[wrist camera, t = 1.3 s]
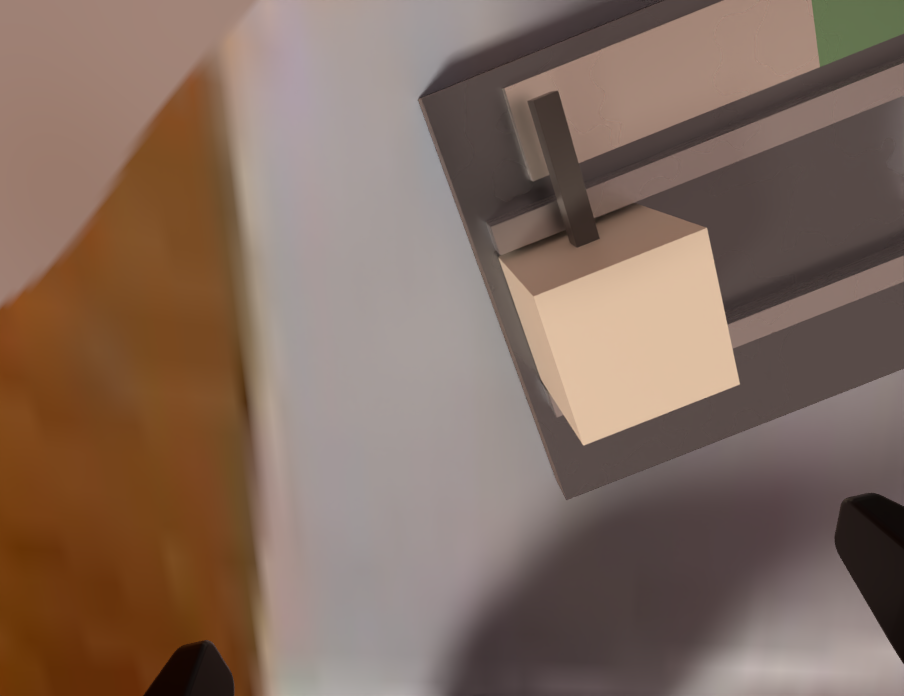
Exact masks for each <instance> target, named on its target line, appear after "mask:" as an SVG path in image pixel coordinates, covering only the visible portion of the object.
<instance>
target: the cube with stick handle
mask: <svg viewBox="0 0 904 696" xmlns="http://www.w3.org/2000/svg"><path fill="white" fill-rule="evenodd" d="M527 102H528V105H529V109H530V112H531V115H532V119H533V122H534V125H535V129H536V132H537V135H538V139H539V142H540V145H541V149H542V152H543V155H544V159H545V162H546V165H547V169H548V172H549V175H550V179H551V182H552V185H553V189H554V192H555V195H556V199H557V202H558V205H559V209H560V212H561V215H562V219H563V222H564V225H565V229H566V230H564V231H562V232H559V233H557V234H554V235H552V236H549V237H547V238H544V239H541V240H539V241H536V242H534V243H531V244H529V245H526V246H524V247H521V248H519V249H516V250H514V251H511V252H509V253H506V254H504V255H501V256H499V257H498V258H499V261H500V264H501V267H502V269H503V272H504V275H505V278H506V281H507V284H508V287H509V290H510V292H511V295H512V298H513V301H514V304H515V307H516V310H517V312H518V315H519V318H520V321H521V324H522V327H523V330H524V333H525V335H526V338H527V341H528V344H529V347H530V350H531V353H532V355H533V358H534V361H535V364H536V367H537V370H538V373H539V376H540V378H541V380H542V382H543V384H544V385H545V387H546V388H547V390H548V391H549V393H550V394H551V396H552V398H553V399H554V401H555V402H556V404H557V405H558V407H559V408H560V410H561V412H562V413H563V415H564V416H565V418H566V419H567V421H568V423H569V424H570V426H571V427H572V429H573V430H574V432H575V433H576V435H577V437H578V438H579V440H580V441H581V443H582V444H583V446H584V445H586V444H589V443H592V442H594V441H597V440H599V439H602V438H604V437H607V436H609V435H612V434H615V433H617V432H620V431H622V430H625V429H627V428H630V427H632V426H635V425H638V424H640V423H643V422H645V421H648V420H650V419H653V418H655V417H658V416H661V415H663V414H666V413H668V412H671V411H673V410H676V409H678V408H681V407H684V406H686V405H689V404H691V403H694V402H696V401H699V400H701V399H704V398H707V397H709V396H712V395H714V394H717V393H719V392H722V391H724V390H727V389H730V388H732V387H735V386H737V385H740V382H739V377H738V373H737V368H736V363H735V358H734V354H733V349H732V344H731V339H730V335H729V330H728V325H727V320H726V316H725V311H724V306H723V301H722V297H721V292H720V287H719V282H718V278H717V273H716V268H715V263H714V259H713V254H712V249H711V244H710V240H709V235H708V230H707V228H706V227H703V226H700V225H697V224H694V223H691V222H688V221H686V220H683V219H680V218H677V217H674V216H671V215H668V214H665V213H662V212H659V211H657V210H654V209H651V208H648V207H645V206H642V205H639V204H636V203H632V204H630V205H627V206H625V207H622V208H620V209H617V210H615V211H612V212H609V213H607V214H604V215H602V216H599V217H597V218H594V216H593V213H592V209H591V206H590V202H589V199H588V195H587V191H586V188H585V184H584V181H583V177H582V174H581V170H580V166H579V163H578V159H577V156H576V152H575V149H574V145H573V141H572V138H571V134H570V131H569V127H568V124H567V120H566V117H565V113H564V109H563V106H562V102H561V99H560V95H559V92H558V91H551V92H548V93H546V94H543V95H541V96H538V97H536V98H533V99H531V100H528V101H527Z"/></svg>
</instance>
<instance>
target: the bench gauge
mask: <svg viewBox="0 0 904 696" xmlns="http://www.w3.org/2000/svg"><path fill="white" fill-rule="evenodd" d="M551 91H558V92H559V95H560V99H561V102H562V106H563V109H564V113H565V117H566V120H567V124H568V127H569V131H570V134H571V138H572V141H573V145H574V149H575V152H576V156H577V159H578V163H579V166H580V170H581V174H582V177H583V181H584V184H585V188H586V191H587V195H588V199H589V202H590V206H591V209H592V213H593V216H594V218H597V217H599V216H602V215H604V214H607V213H609V212H612V211H615V210H617V209H620V208H622V207H625V206H627V205H630V204H632V203H636V204H639V205H642V206H645V207H648V208H651V209H654V210H657V211H659V212H662V213H665V214H668V215H671V216H674V217H677V218H680V219H683V220H686V221H688V222H691V223H694V224H697V225H700V226H703V227H706V228H707V230H708V235H709V240H710V244H711V249H712V254H713V259H714V263H715V268H716V273H717V278H718V282H719V287H720V292H721V297H722V301H723V306H724V311H725V316H726V320H727V325H728V330H729V335H730V339H731V344H732V349H733V354H734V358H735V363H736V368H737V373H738V377H739V382H740V385H737V386H735V387H732V388H730V389H727V390H724V391H722V392H719V393H717V394H714V395H712V396H709V397H707V398H704V399H701V400H699V401H696V402H694V403H691V404H689V405H686V406H684V407H681V408H678V409H676V410H673V411H671V412H668V413H666V414H663V415H661V416H658V417H655V418H653V419H650V420H648V421H645V422H643V423H640V424H638V425H635V426H632V427H630V428H627V429H625V430H622V431H620V432H617V433H615V434H612V435H609V436H607V437H604V438H602V439H599V440H597V441H594V442H592V443H589V444H586V445H584V446H583V444H582V443H581V441H580V440H579V438H578V437H577V435H576V433H575V432H574V430H573V429H572V427H571V426H570V424H569V423H568V421H567V419H566V418H565V416H564V415H563V413H562V412H561V410H560V408H559V407H558V405H557V404H556V402H555V401H554V399H553V398H552V396H551V394H550V393H549V391H548V390H547V388H546V387H545V385H544V384H543V382H542V380H541V378H540V376H539V373H538V370H537V367H536V364H535V361H534V358H533V355H532V353H531V350H530V347H529V344H528V341H527V338H526V335H525V333H524V330H523V327H522V324H521V321H520V318H519V315H518V312H517V310H516V307H515V304H514V301H513V298H512V295H511V292H510V290H509V287H508V284H507V281H506V278H505V275H504V272H503V269H502V267H501V264H500V261H499V258H498V257H499V256H501V255H504V254H506V253H509V252H511V251H514V250H516V249H519V248H521V247H524V246H526V245H529V244H531V243H534V242H536V241H539V240H541V239H544V238H547V237H549V236H552V235H554V234H557V233H559V232H562V231H564V230H566V229H565V225H564V222H563V219H562V215H561V212H560V209H559V205H558V202H557V199H556V195H555V192H554V189H553V185H552V182H551V179H550V175H549V172H548V169H547V165H546V162H545V159H544V155H543V152H542V149H541V145H540V142H539V139H538V135H537V132H536V129H535V125H534V122H533V119H532V115H531V112H530V109H529V105H528V102H527V101H528V100H531V99H533V98H536V97H538V96H541V95H543V94H546V93H548V92H551ZM418 101H419V104H420V107H421V110H422V112H423V115H424V118H425V121H426V123H427V126H428V129H429V132H430V134H431V137H432V140H433V143H434V145H435V148H436V151H437V154H438V156H439V159H440V162H441V165H442V167H443V170H444V173H445V176H446V178H447V181H448V184H449V187H450V189H451V192H452V195H453V198H454V200H455V203H456V206H457V209H458V211H459V214H460V217H461V220H462V222H463V225H464V228H465V231H466V233H467V236H468V239H469V242H470V244H471V247H472V250H473V253H474V255H475V258H476V261H477V264H478V266H479V269H480V272H481V275H482V277H483V280H484V283H485V286H486V288H487V291H488V294H489V297H490V299H491V302H492V305H493V308H494V310H495V313H496V316H497V319H498V321H499V324H500V327H501V330H502V332H503V335H504V338H505V341H506V343H507V346H508V349H509V352H510V354H511V357H512V360H513V363H514V365H515V368H516V371H517V374H518V376H519V379H520V382H521V385H522V387H523V390H524V393H525V396H526V398H527V401H528V404H529V407H530V409H531V412H532V415H533V418H534V420H535V423H536V426H537V429H538V431H539V434H540V437H541V440H542V442H543V445H544V448H545V451H546V453H547V456H548V459H549V462H550V464H551V467H552V470H553V473H554V475H555V478H556V481H557V483H558V485H559V487H560V489H561V490H562V492H563V494H564V496H565V498H566V500H568V499H571V498H573V497H576V496H578V495H581V494H583V493H586V492H588V491H591V490H594V489H596V488H599V487H601V486H604V485H606V484H609V483H612V482H614V481H617V480H619V479H622V478H624V477H627V476H630V475H632V474H635V473H637V472H640V471H642V470H645V469H647V468H650V467H653V466H655V465H658V464H660V463H663V462H665V461H668V460H671V459H673V458H676V457H678V456H681V455H683V454H686V453H689V452H691V451H694V450H696V449H699V448H701V447H704V446H706V445H709V444H712V443H714V442H717V441H719V440H722V439H724V438H727V437H730V436H732V435H735V434H737V433H740V432H742V431H745V430H748V429H750V428H753V427H755V426H758V425H760V424H763V423H765V422H768V421H771V420H773V419H776V418H778V417H781V416H783V415H786V414H789V413H791V412H794V411H796V410H799V409H801V408H804V407H807V406H809V405H812V404H814V403H817V402H819V401H822V400H824V399H827V398H830V397H832V396H835V395H837V394H840V393H842V392H845V391H848V390H850V389H853V388H855V387H858V386H860V385H863V384H866V383H868V382H871V381H873V380H876V379H878V378H881V377H883V376H886V375H889V374H891V373H894V372H896V371H899V370H901V369H904V0H663V1H661V2H658V3H656V4H653V5H651V6H648V7H646V8H644V9H641V10H639V11H636V12H634V13H631V14H629V15H626V16H624V17H621V18H619V19H616V20H614V21H611V22H609V23H606V24H604V25H601V26H599V27H596V28H594V29H591V30H589V31H586V32H584V33H581V34H579V35H576V36H574V37H571V38H569V39H566V40H564V41H561V42H559V43H556V44H554V45H551V46H549V47H546V48H544V49H542V50H539V51H537V52H534V53H532V54H529V55H527V56H524V57H522V58H519V59H517V60H514V61H512V62H509V63H507V64H504V65H502V66H499V67H497V68H494V69H492V70H489V71H487V72H484V73H482V74H479V75H477V76H474V77H472V78H469V79H467V80H464V81H462V82H459V83H457V84H454V85H452V86H449V87H447V88H444V89H442V90H440V91H437V92H435V93H432V94H430V95H427V96H425V97H422V98H420V99H418Z"/></svg>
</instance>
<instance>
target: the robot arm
mask: <svg viewBox="0 0 904 696" xmlns="http://www.w3.org/2000/svg"><path fill="white" fill-rule="evenodd" d="M835 546H836V549H837V552H838V554H839V556H840V558H841V559H842V561H843V563H844V565H845V566H846V568H847V570H848V571H849V573H850V575H851V576H852V578H853V580H854V582H855V583H856V585H857V587H858V588H859V590H860V592H861V594H862V595H863V597H864V599H865V600H866V602H867V604H868V606H869V607H870V609H871V611H872V612H873V614H874V616H875V618H876V619H877V621H878V623H879V624H880V626H881V628H882V630H883V631H884V633H885V635H886V636H887V638H888V640H889V642H890V643H891V645H892V646H893V648H894V650H895V651H896V653H897V654H898V656H899V658H900V659H901V661H902V662H903V664H904V506H902V505H900V504H898V503H896V502H894V501H892V500H890V499H888V498H886V497H884V496H881V495H879V494H875V493H866V494H862V495H857V496H853V497H848V498H846V499H845V500H844V501H843V502H842V503H841V507H840V512H839V517H838V522H837V527H836V532H835ZM143 696H234V681H233V676H232V673H231V671H230V670H229V668H228V666H227V665H226V663H225V661H224V660H223V658H222V657H221V655H220V653H219V652H218V650H217V648H216V647H215V645H214V644H213V643H212V642H210V641H208V640H204V641H199V642H195V643H190V644H186V645H183V646H181V647H179V648H178V649H177V650H176V651H175V652H174V654H173V655H172V656H171V658H170V659H169V660H168V662H167V663H166V665H165V666H164V667H163V669H162V670H161V672H160V673H159V674H158V676H157V677H156V679H155V680H154V681H153V683H152V684H151V686H150V687H149V688H148V690H147V691H146V692H145V694H144V695H143Z"/></svg>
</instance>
